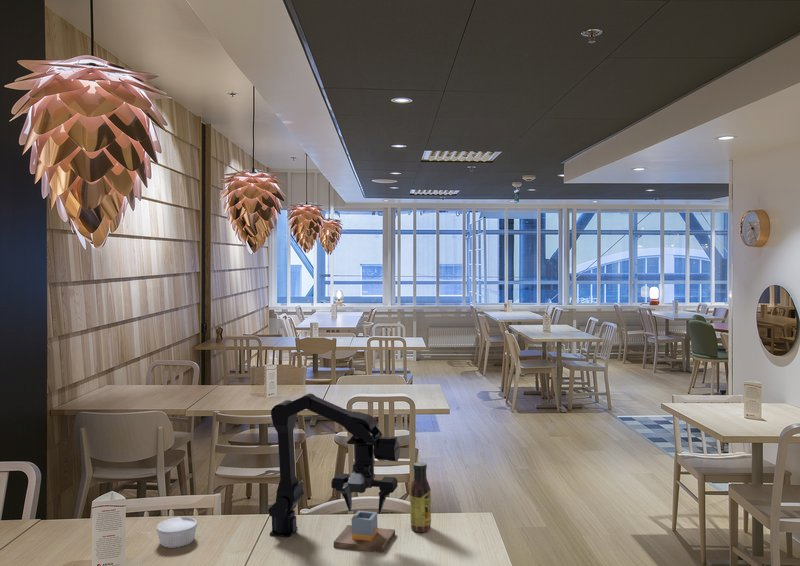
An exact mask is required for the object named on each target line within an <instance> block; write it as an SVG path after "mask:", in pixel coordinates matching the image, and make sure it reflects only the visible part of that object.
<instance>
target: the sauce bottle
mask: <svg viewBox="0 0 800 566" xmlns="http://www.w3.org/2000/svg"><path fill="white" fill-rule="evenodd" d="M427 469H428V465H427V463H426V462H424V461H423V462H422V461H420V462H419V461H417V462H415V463H413V480H412V481H411V484H410V494H409V495H410V497H409V499H410V500H409V501H410V502H409V503H410V506H409V507H410V509H409V511H410V529H411V530H412V531H414V532H418V533H423V532H429V530H430V529H431V525H432V508H431V507H432V506H431V505H432V497H431V494H432V493H431V492H432V491H431V487H430V484H429V481H428V478H427V476H428V475H427Z"/></svg>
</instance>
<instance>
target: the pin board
mask: <svg viewBox="0 0 800 566" xmlns="http://www.w3.org/2000/svg"><path fill="white" fill-rule="evenodd" d="M395 536H396V529H392V528H391V529H390V528H381V527H378V532H377V534H376V535H375V537H374V538H373V540H372V541H367V540H358V539H352V524H347V525H346V527H344V529H343V530H342V531H341V532H340V534H339V535H337V537H336V539H334V541H333V548H339V549H348V550H356V549H357V550H356V551H365V550H367V552H374V551H376V552H378V553H385V552H386V550H387V548H388V547H389V545H390V544H391V543H392V540H393V538H394V537H395Z"/></svg>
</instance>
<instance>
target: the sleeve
mask: <svg viewBox="0 0 800 566" xmlns="http://www.w3.org/2000/svg"><path fill="white" fill-rule="evenodd" d="M350 520H351V525H352V539H358V540H367V541H372V540H373V538H374V537H375V535H376V534H377V532H378V528H379V527H378V524H379V523H378V511H366V510H357V511H356V513H355V514H354V515H353V516H352V517H351V519H350Z"/></svg>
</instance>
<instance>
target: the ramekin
mask: <svg viewBox="0 0 800 566" xmlns="http://www.w3.org/2000/svg"><path fill="white" fill-rule="evenodd" d="M197 527H198V521H197V519H195V518H193V517H189V516H178V517H177V516H176V517H171V518H168V519H165V520H163V521H161V522H159V523H158V524H157V525H156V532H157V535H158V539H159V544H160V545H161V546H162V547H164V548H167V547H168V549H170V548H171V549H176V547H177V548H181V546H182V547H185V546H188V545H190V544H191V543H192V542H193V541H194V539H195V536H196V531H197V530H196V529H197ZM184 545H185V546H184Z"/></svg>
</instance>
